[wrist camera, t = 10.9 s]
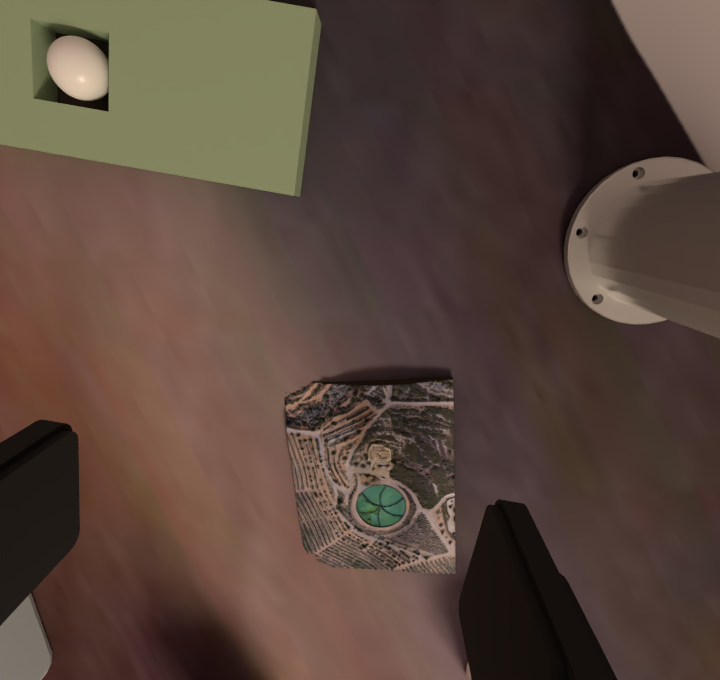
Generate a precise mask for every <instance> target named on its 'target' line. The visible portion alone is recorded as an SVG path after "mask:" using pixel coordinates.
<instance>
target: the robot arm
mask: <svg viewBox="0 0 720 680" xmlns="http://www.w3.org/2000/svg"><path fill="white" fill-rule="evenodd" d="M633 171H634V172H635V176H634V177H633V176H632V175H633ZM577 229H579V230H580V233H579V235H576V231H577ZM564 266H565V270H566V274H567V278H568V280H569V282H570V284H571V286H572V288H573V291H574V292H575V293H576V295H577V296H578V297H579V298H580V300H581V301H582V302H583V303H584V304H585V305H587V306H588V307H589V308H590V309H592V310H593V311H595V312H597V313H598V314H600V315H602V316H604V317H607V318H609V319H612V320H614V321H617V322H622V323H628V324H650V323H655V322H661V321H664V320H667V319H668V320H671V321H674V322H676V323H679V324H682V325H685V326H687V327H690V328H693V329H695V330H698V331H701V332H703V333H706V334H709V335H712V336H714V337H717V338H720V172H716V173H715V172H713V171H712V170H711V169H709V168H707V167H706V166H704V165H702V164H700V163H698V162H695V161H692V160H688V159H685V158H679V157H658V158H651V159H646V160H641V161H637V162H634V163H631V164H629V165H626V166H624V167H622V168H619V169H617V170H616V171H614V172H613V173H611V174H609V175H608V176H606V177H605V178H603V179H602V180H601V181H600V182H599V183H598V184H597V185H595V186H594V187H593V188H592V189H591V190H590V191H589V192H588V194H587V195H586V196H585V197H584V199H583V200H582V201H581V202H580V204H579V205H578V207H577V209H576V211H575V213H574V215H573V216H572V218H571V221H570V224H569V227H568V229H567V232H566V237H565V243H564ZM594 295H595V298H594V299H593V300H592V297H593V296H594ZM79 531H80V521H79V457H78V435H77V434H76V433H75V432H73V431H72V428H71V426H70V425H68V424H65V423H59V422H53V421H48V420H39V421H36V422H34V423H33V424H31V425H29V426H28V427H26V428H24V429H23V430H21V431H19V432H18V433H16V434H14V435H13V436H11V437H9V438H8V439H6V440H4V441H3V442H1V443H0V626H1V625H2V624H3V623H4V622H5V620H6V619H7V618H8V617H9V616H10V615H11V614H12V613H13V612H14V611H15V610H16V609H17V607H18V606H19V605H20V604H21V603H22V602H23V601H24V600H25V599H26V598H27V597H28V596H29V594H30V593H31V592H32V591H33V590H34V589H35V588H36V587H37V586H38V585H39V584H40V583H41V581H42V580H43V579H44V578H45V577H46V576H47V575H48V574H49V573H50V572H51V571H52V570H53V568H54V567H55V566H56V565H57V564H58V563H59V562H60V561H61V560H62V559H63V558H64V557H65V555H66V554H67V553H68V552H69V551H70V550H71V549H72V548H73V546H74V545H75V543H76V541H77V539H78V536H79ZM459 616H460V622H461V627H462V632H463V637H464V642H465V648H466V653H467V658H468V663H469V668H470V673H471V679H472V680H617V678H616V676H615V674H614V672H613V670H612V668H611V666H610V664H609V662H608V660H607V658H606V656H605V654H604V652H603V650H602V648H601V646H600V644H599V642H598V640H597V638H596V637H595V635H594V633H593V631H592V629H591V627H590V625H589V623H588V621H587V619H586V617H585V615H584V613H583V611H582V609H581V607H580V605H579V603H578V601H577V599H576V597H575V595H574V593H573V591H572V589H571V587H570V585H569V583H568V582H567V580H566V579H565V577H564V576H563V575H561V574H560V573H559V571H558V569H557V567H556V565H555V563H554V561H553V559H552V557H551V555H550V553H549V551H548V549H547V547H546V545H545V543H544V541H543V539H542V537H541V535H540V533H539V531H538V529H537V527H536V525H535V523H534V521H533V519H532V517H531V515H530V513H529V511H528V509H527V507H526V505H525V504H522V503H517V502H511V501H505V500H497V501H496V503H495V505H488V506H487V508H486V511H485V514H484V517H483V521H482V524H481V528H480V531H479V534H478V538H477V541H476V545H475V548H474V551H473V555H472V558H471V562H470V565H469V568H468V572H467V575H466V579H465V582H464V585H463V589H462V592H461V596H460V601H459Z"/></svg>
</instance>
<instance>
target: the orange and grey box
mask: <svg viewBox="0 0 720 680" xmlns="http://www.w3.org/2000/svg"><path fill="white" fill-rule="evenodd" d="M51 662H52V651H51V648H50V645H49V642H48V639H47V636H46V634H45V631H44V628H43V625H42V622H41V619H40V617H39V614H38V611H37V608H36V605H35V602H34V600H33V597H32V594H31V593H30V594H29V596H28V597H27V598H26V599H25V600H24V601H23V602H22V603H21V604H20V605H19V606H18V607H17V609H16V610H15V611H14V612H13V613H12V614H11V615H10V616H9V617H8V618H7V619H6V620H5V622H4V623H3V624H2V625H1V626H0V680H42V679H43V677H44V676H45V674H46V673H47V671H48V669H49V667H50V665H51Z"/></svg>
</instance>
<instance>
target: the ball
mask: <svg viewBox="0 0 720 680" xmlns="http://www.w3.org/2000/svg"><path fill="white" fill-rule="evenodd" d="M47 66H48V70H49V73H50V75H51V77H52V79H53V80H54V82H55V83H56V84H57V85H58V87H59V88H60V89H62V90H63V91H64V92H65V93H66V94H68V95H70V96H71V97H74V98H76V99H79V100H83V101H95V100H99V99H101V98H103V97H104V96H105V95H106V94H107V93H108V92H109V61H108V59H107V57H106V56H105V54H104V53H103V52H102V51H101V50H100V48H98V47H97V46H96V45H95V44H93V43H92V42H90V41H89V40H87V39H85V38H82V37H79V36H63V37H60V38H58V39H56V40H55V41H54V42H53V43H52V44H51V45H50V47H49V49H48V52H47Z"/></svg>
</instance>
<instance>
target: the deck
mask: <svg viewBox="0 0 720 680" xmlns="http://www.w3.org/2000/svg"><path fill="white" fill-rule="evenodd" d="M320 31H321V22H320V19H319V16H318V12H317V9H314V8H308V7H303V6H297V5H291V4H286V3H280V2H274V1H269V0H0V144H2V145H8V146H13V147H19V148H25V149H30V150H36V151H42V152H47V153H53V154H59V155H64V156H70V157H76V158H81V159H87V160H93V161H99V162H104V163H110V164H116V165H121V166H127V167H133V168H138V169H144V170H150V171H155V172H161V173H167V174H173V175H178V176H184V177H190V178H195V179H201V180H207V181H212V182H218V183H224V184H229V185H235V186H241V187H247V188H252V189H258V190H264V191H269V192H275V193H281V194H286V195H292V196H298V197H300V193H301V185H302V177H303V169H304V161H305V153H306V144H307V136H308V128H309V120H310V112H311V104H312V96H313V88H314V80H315V71H316V63H317V55H318V47H319V39H320ZM56 33H60V34H65V35H71V36H79V37H82V38H88V39H94V40H100V41H105V42H109V112H108V111H102V110H96V109H91V108H85V107H79V106H74V105H68V104H62V103H58V92H57V84H56V83H55V82H54V80H53V79H52V77H51V75H50V73H49V70H48V66H47V52H48V49H49V47H50V45H51V44H52V43H53V42H54V41H55V40H56Z"/></svg>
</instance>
